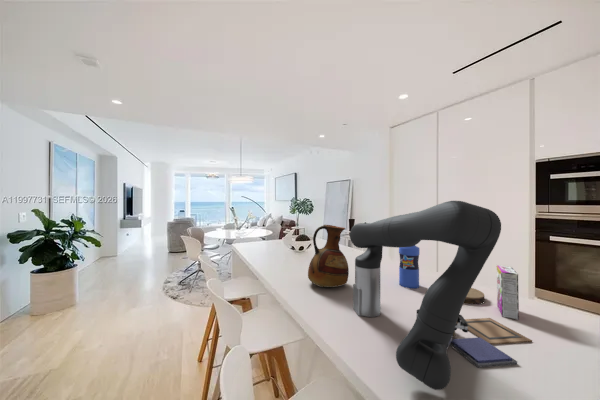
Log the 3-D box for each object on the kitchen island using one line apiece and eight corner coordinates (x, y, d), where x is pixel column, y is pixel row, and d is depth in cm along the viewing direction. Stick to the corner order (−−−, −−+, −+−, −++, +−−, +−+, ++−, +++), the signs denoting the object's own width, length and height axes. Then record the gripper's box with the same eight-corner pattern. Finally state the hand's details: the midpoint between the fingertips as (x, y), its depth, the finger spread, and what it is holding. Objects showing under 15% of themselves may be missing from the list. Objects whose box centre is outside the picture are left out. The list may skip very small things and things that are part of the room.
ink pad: (477, 367, 60) (477, 362, 60) (446, 342, 71) (446, 338, 71) (517, 364, 61) (517, 359, 61) (480, 340, 72) (480, 336, 72)
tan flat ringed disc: (451, 288, 117) (451, 282, 117) (491, 299, 103) (491, 292, 103) (433, 295, 108) (433, 288, 108) (473, 308, 95) (473, 300, 95)
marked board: (489, 344, 70) (489, 342, 70) (453, 321, 84) (453, 319, 84) (532, 342, 71) (532, 340, 71) (489, 319, 85) (489, 317, 85)
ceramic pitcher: (352, 292, 111) (352, 226, 111) (308, 291, 111) (308, 226, 111) (344, 278, 130) (345, 223, 131) (307, 278, 131) (307, 222, 131)
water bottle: (401, 281, 127) (401, 233, 127) (421, 284, 121) (421, 234, 122) (396, 286, 119) (396, 235, 119) (417, 290, 114) (417, 237, 114)
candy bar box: (496, 305, 97) (496, 264, 97) (512, 308, 94) (512, 266, 94) (501, 317, 87) (500, 271, 87) (519, 320, 85) (519, 273, 85)
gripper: (467, 325, 62) (471, 303, 75) (408, 310, 70) (421, 292, 84) (467, 355, 61) (471, 328, 75) (408, 335, 70) (421, 314, 84)
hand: (445, 309), depth 79 cm, fingers closed on cork, 3 cm apart
